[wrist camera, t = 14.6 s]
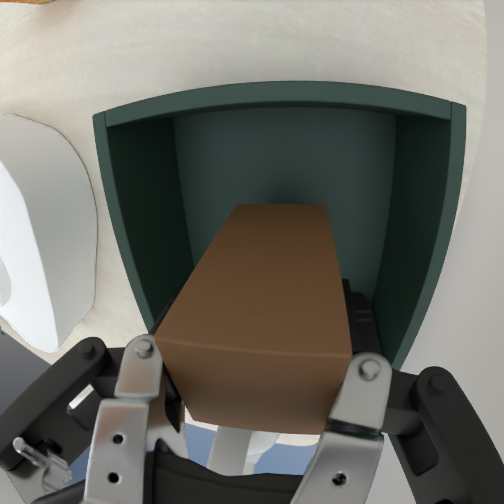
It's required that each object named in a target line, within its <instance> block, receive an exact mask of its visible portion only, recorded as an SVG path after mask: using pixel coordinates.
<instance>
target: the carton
mask: <svg viewBox="0 0 504 504" xmlns="http://www.w3.org/2000/svg"><path fill="white" fill-rule="evenodd" d="M154 341H155V343H156V345H157V348H158V350H159V352H160V355H161V357H162V359H163V361H164V363H165V366H166V368H167V370H168V372H169V374H170V376H171V378H172V380H173V382H174V384H175V387H176V389H177V391H178V392H179V394H180V396H181V398H182V400H183V402H184V404H185V406H186V408H187V410H188V412H189V413H190V415H191V417H192V419H193V420H194V421H199V422H204V423H209V424H214V425H219V426H225V427H232V428H238V429H246V430H254V431H263V432H273V433H287V434H311V435H321V434H322V431H323V429H324V426H325V424H326V421H327V419H328V417H329V415H330V412H331V409H332V406H333V404H334V401H335V398H336V395H337V392H338V389H339V386H340V383H341V382H343V381H344V379H345V376H346V373H347V370H348V367H349V364H350V361H351V358H352V346H351V338H350V331H349V323H348V316H347V310H346V303H345V297H344V291H343V285H342V279H341V274H340V268H339V263H338V258H337V253H336V248H335V243H334V239H333V234H332V229H331V225H330V220H329V216H328V212H327V208H326V205H315V204H236V206H235V207H234V209H233V210H232V212H231V213H230V215H229V216H228V218H227V219H226V221H225V222H224V224H223V225H222V227H221V228H220V230H219V231H218V233H217V235H216V236H215V238H214V239H213V241H212V242H211V244H210V245H209V247H208V248H207V250H206V252H205V253H204V255H203V256H202V258H201V259H200V261H199V263H198V264H197V266H196V267H195V269H194V271H193V272H192V274H191V275H190V277H189V279H188V280H187V282H186V283H185V285H184V287H183V288H182V290H181V292H180V293H179V295H178V296H177V298H176V300H175V301H174V303H173V305H172V306H171V308H170V310H169V311H168V313H167V315H166V316H165V318H164V320H163V321H162V323H161V325H160V326H159V328H158V330H157V332H156V333H155V335H154Z"/></svg>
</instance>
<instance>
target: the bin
mask: <svg viewBox="0 0 504 504" xmlns="http://www.w3.org/2000/svg"><path fill="white" fill-rule="evenodd" d="M92 118H93V127H94V135H95V142H96V149H97V155H98V161H99V167H100V172H101V177H102V182H103V187H104V192H105V197H106V201H107V205H108V210H109V214H110V218H111V222H112V226H113V230H114V233H115V237H116V240H117V244H118V247H119V251H120V254H121V258H122V261H123V264H124V267H125V270H126V273H127V276H128V279H129V282H130V285H131V288H132V291H133V294H134V297H135V299H136V302H137V305H138V307H139V310H140V313H141V315H142V318H143V320H144V323H145V325H146V328H147V330H148V333H149V332H150V330H151V328H152V327H153V325H154V323H155V322H156V320H157V319H158V317H159V315H160V314H161V312H162V311H163V309H165V306H166V304H167V303H168V301H170V300H169V299H170V298H171V296H172V295H173V293H174V292H175V290H177V289H178V288H179V287H181V286H182V285H183V284H185V283H186V282H187V280H188V279H189V277H190V275H191V274H192V272H193V271H194V269H195V267H196V266H197V264H198V263H199V261H200V259H201V258H202V256H203V255H204V253H205V252H206V250H207V248H208V247H209V245H210V244H211V242H212V241H213V239H214V238H215V236H216V235H217V233H218V231H219V230H220V228H221V227H222V225H223V224H224V222H225V221H226V219H227V218H228V216H229V215H230V213H231V212H232V210H233V209H234V207H235V206H236V204H315V205H326V208H327V212H328V216H329V220H330V225H331V229H332V234H333V239H334V243H335V248H336V253H337V258H338V263H339V268H340V274H341V278H343V279H349V283H350V288H351V292H362V294H363V295H364V296H365V297H366V298H367V299H368V301H369V304H370V307H371V313H372V315H373V322H374V324H375V328H376V333H377V337H378V342H379V346H380V351H381V355H382V356H383V357H384V358H386V359H387V360H388V362H389V363H390V365H391V367H392V368H393V369H395V370H398V371H399V370H400V369H401V367H402V365H403V363H404V361H405V359H406V357H407V355H408V353H409V351H410V349H411V347H412V345H413V342H414V340H415V338H416V336H417V334H418V331H419V329H420V327H421V324H422V322H423V320H424V317H425V315H426V312H427V310H428V307H429V305H430V302H431V299H432V296H433V294H434V291H435V288H436V285H437V282H438V279H439V276H440V273H441V270H442V267H443V263H444V260H445V256H446V253H447V249H448V245H449V242H450V238H451V234H452V229H453V225H454V220H455V216H456V211H457V205H458V200H459V194H460V188H461V181H462V173H463V164H464V154H465V140H466V106H465V105H462V104H459V103H456V102H452V101H448V100H445V99H441V98H437V97H433V96H429V95H424V94H420V93H415V92H410V91H405V90H400V89H394V88H387V87H381V86H373V85H365V84H355V83H344V82H329V81H265V82H249V83H238V84H228V85H219V86H212V87H205V88H198V89H192V90H186V91H181V92H176V93H171V94H166V95H161V96H157V97H153V98H148V99H144V100H140V101H137V102H133V103H129V104H126V105H122V106H119V107H116V108H112V109H109V110H106V111H103V112H100V113H97V114H94V115H93V117H92Z"/></svg>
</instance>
